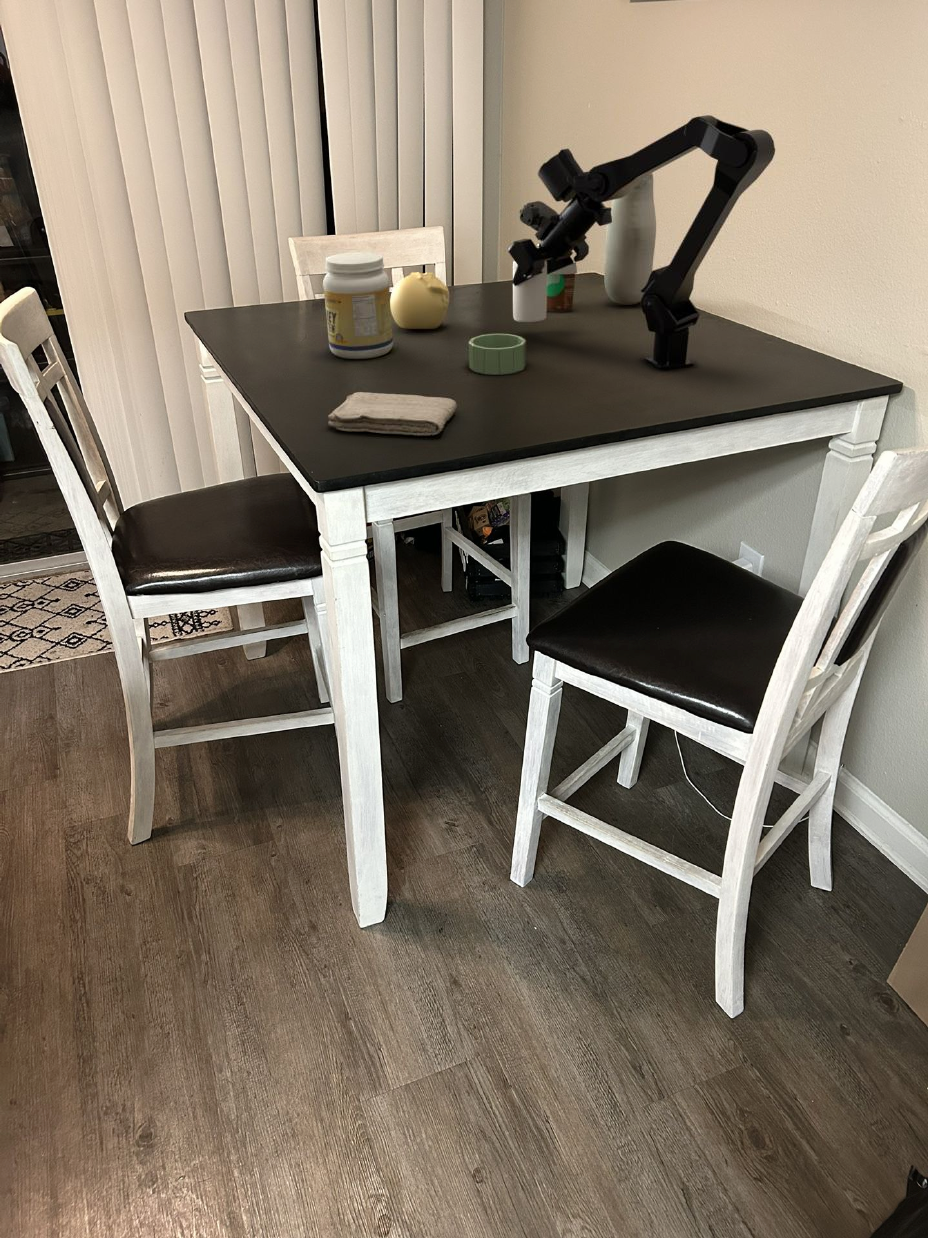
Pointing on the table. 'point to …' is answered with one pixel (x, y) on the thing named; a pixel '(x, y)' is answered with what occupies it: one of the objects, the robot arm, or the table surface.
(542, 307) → the can
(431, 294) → the sculpture
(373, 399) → the washcloth
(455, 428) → the table surface
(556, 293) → the food container
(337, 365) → the table surface
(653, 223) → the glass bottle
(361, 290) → the supplement tub
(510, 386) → the table surface
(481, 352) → the segmented ring
